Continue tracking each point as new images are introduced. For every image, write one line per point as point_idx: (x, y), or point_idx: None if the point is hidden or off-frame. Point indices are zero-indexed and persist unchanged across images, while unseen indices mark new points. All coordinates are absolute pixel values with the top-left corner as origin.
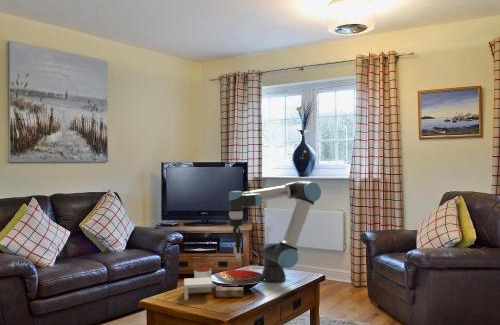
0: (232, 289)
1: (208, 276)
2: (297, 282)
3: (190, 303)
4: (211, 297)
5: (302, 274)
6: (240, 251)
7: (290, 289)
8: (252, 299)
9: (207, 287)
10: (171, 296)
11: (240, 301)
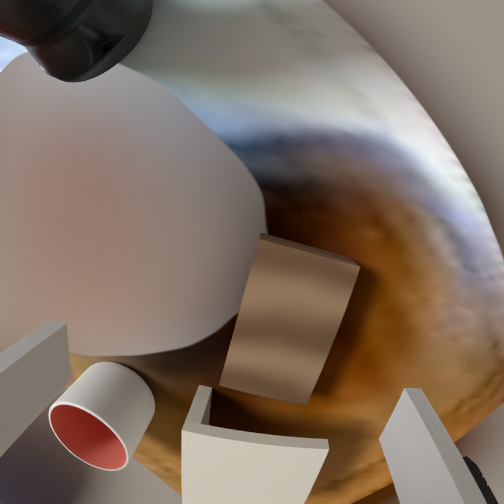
0: (326, 325)
1: (126, 414)
2: None
3: (342, 466)
4: None
5: None
6: (460, 456)
7: None
8: (416, 226)
9: (206, 414)
10: None
11: (420, 293)
